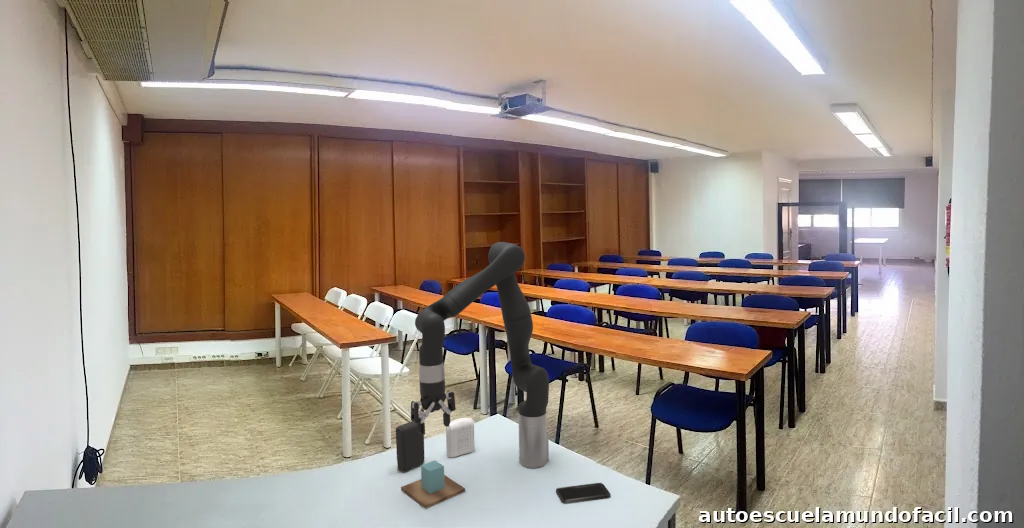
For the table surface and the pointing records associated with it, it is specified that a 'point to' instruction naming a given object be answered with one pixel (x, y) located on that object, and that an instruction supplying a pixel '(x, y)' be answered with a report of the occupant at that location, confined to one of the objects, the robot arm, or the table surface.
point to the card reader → (409, 446)
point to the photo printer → (460, 437)
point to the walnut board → (434, 498)
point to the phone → (582, 493)
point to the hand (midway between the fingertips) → (434, 429)
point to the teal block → (432, 476)
